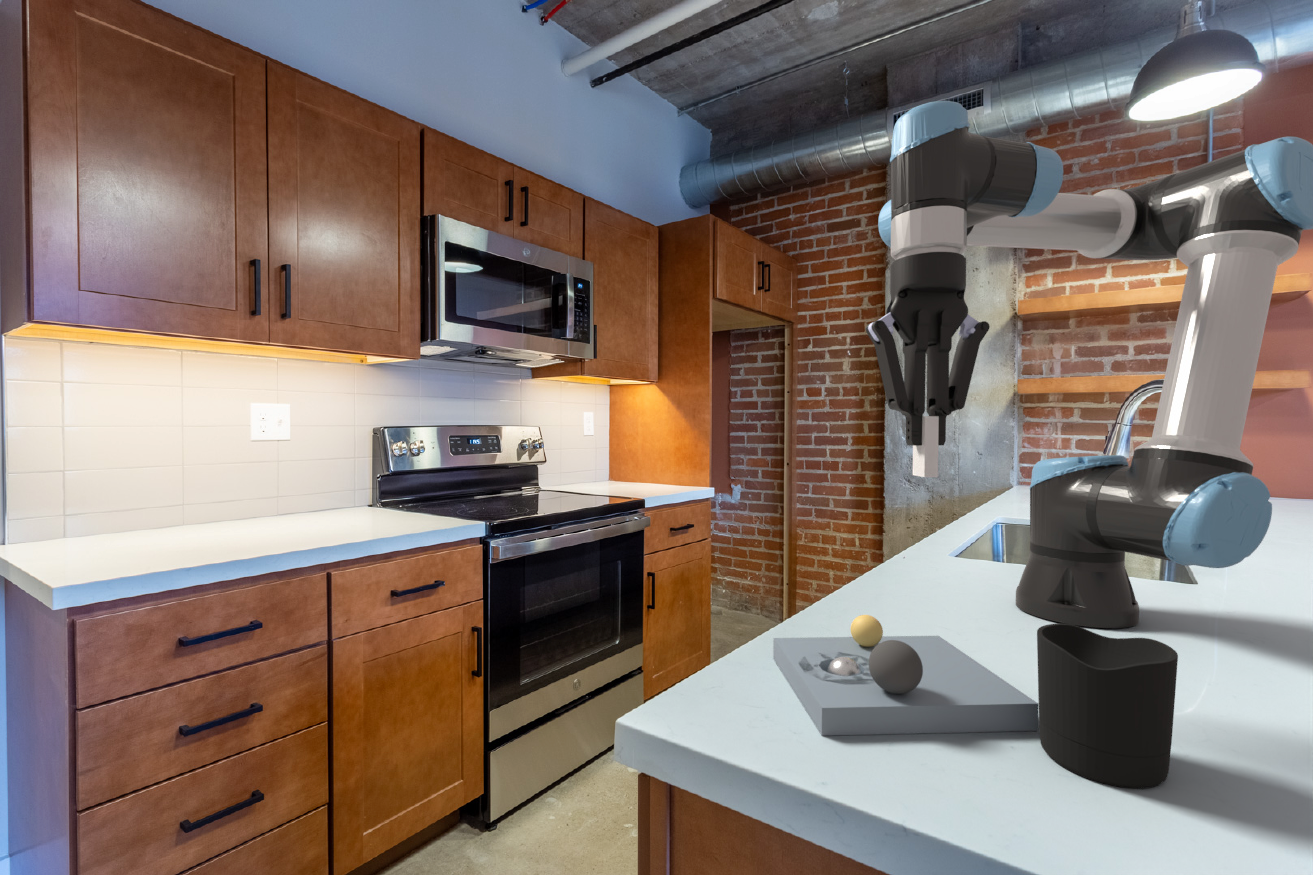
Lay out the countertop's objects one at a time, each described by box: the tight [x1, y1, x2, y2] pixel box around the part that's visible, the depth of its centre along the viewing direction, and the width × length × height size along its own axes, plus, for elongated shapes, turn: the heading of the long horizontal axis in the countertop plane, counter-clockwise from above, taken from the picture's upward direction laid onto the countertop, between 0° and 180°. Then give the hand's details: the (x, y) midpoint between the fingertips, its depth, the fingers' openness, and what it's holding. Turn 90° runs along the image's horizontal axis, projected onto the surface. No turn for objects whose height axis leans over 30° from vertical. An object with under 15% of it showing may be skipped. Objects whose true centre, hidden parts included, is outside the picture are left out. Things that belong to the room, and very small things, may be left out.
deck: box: [772, 635, 1039, 736], centre depth 65 cm, size 20×18×2 cm
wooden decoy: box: [850, 614, 884, 647], centre depth 71 cm, size 4×4×4 cm
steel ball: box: [827, 657, 862, 676], centre depth 65 cm, size 4×4×4 cm
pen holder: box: [1036, 623, 1179, 789], centre depth 52 cm, size 9×9×10 cm
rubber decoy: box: [869, 640, 923, 694], centre depth 59 cm, size 5×5×5 cm
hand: (925, 475), depth 68 cm, fingers closed
